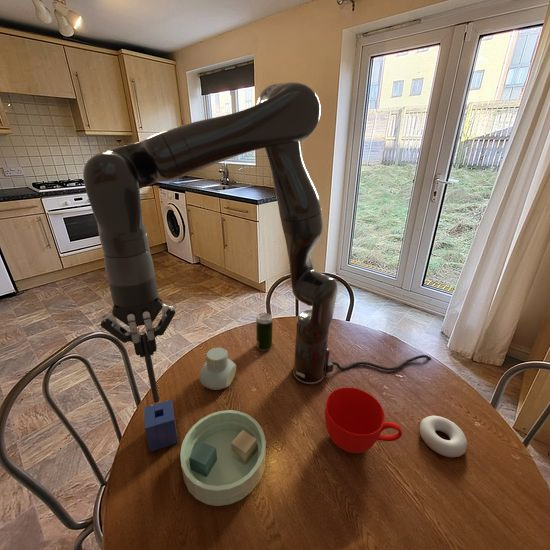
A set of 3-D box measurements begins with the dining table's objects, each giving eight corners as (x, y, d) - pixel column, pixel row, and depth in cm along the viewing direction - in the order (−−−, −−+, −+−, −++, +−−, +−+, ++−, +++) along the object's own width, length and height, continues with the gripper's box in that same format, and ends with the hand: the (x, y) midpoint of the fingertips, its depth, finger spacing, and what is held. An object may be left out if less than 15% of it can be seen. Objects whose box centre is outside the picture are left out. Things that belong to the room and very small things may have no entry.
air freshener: (214, 365, 91) (212, 339, 87) (238, 370, 89) (238, 344, 85) (196, 391, 82) (193, 363, 77) (223, 398, 80) (222, 369, 75)
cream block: (256, 450, 66) (256, 438, 64) (245, 465, 63) (245, 453, 61) (243, 441, 68) (242, 429, 66) (231, 455, 65) (230, 442, 63)
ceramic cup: (395, 483, 61) (405, 451, 56) (316, 454, 66) (319, 423, 62) (395, 430, 72) (403, 401, 68) (327, 409, 77) (331, 381, 73)
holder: (175, 422, 72) (171, 399, 69) (178, 444, 67) (174, 419, 64) (149, 430, 70) (144, 406, 67) (150, 453, 65) (144, 428, 62)
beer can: (261, 353, 97) (261, 323, 92) (253, 344, 101) (253, 315, 96) (275, 347, 100) (275, 318, 95) (266, 339, 104) (267, 310, 99)
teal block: (217, 459, 64) (216, 447, 62) (206, 477, 60) (205, 465, 59) (201, 452, 65) (200, 440, 63) (190, 469, 62) (188, 457, 60)
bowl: (250, 417, 74) (250, 401, 72) (277, 485, 60) (278, 468, 57) (178, 440, 68) (176, 424, 66) (189, 524, 53) (186, 506, 51)
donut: (469, 467, 64) (459, 428, 73) (474, 457, 63) (463, 419, 71) (420, 452, 67) (416, 416, 75) (423, 442, 65) (419, 407, 74)
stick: (159, 397, 65) (146, 330, 57) (159, 401, 64) (146, 334, 56) (153, 399, 64) (139, 332, 57) (153, 403, 63) (139, 335, 56)
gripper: (83, 290, 46) (107, 375, 53) (174, 278, 51) (184, 357, 58) (90, 272, 52) (110, 350, 59) (170, 262, 57) (180, 335, 64)
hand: (147, 353), depth 58 cm, fingers closed on stick, 1 cm apart
